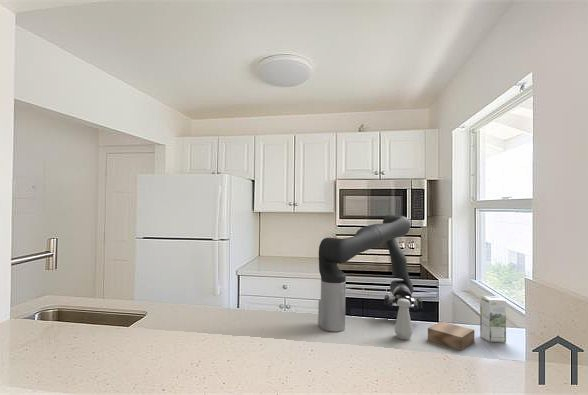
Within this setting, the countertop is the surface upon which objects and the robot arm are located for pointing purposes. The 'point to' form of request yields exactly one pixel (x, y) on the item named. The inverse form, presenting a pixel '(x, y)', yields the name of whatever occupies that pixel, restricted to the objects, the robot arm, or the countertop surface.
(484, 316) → the syrup box
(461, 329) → the wooden block
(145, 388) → the countertop surface
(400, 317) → the salt shaker
